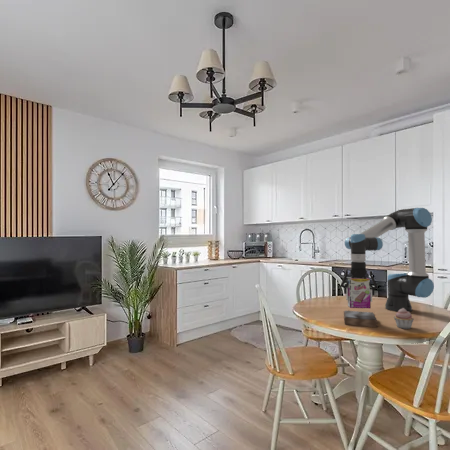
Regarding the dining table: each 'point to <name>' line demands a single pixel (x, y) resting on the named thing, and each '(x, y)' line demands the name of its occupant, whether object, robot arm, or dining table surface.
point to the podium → (360, 318)
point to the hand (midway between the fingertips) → (359, 300)
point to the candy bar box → (359, 293)
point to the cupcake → (403, 319)
